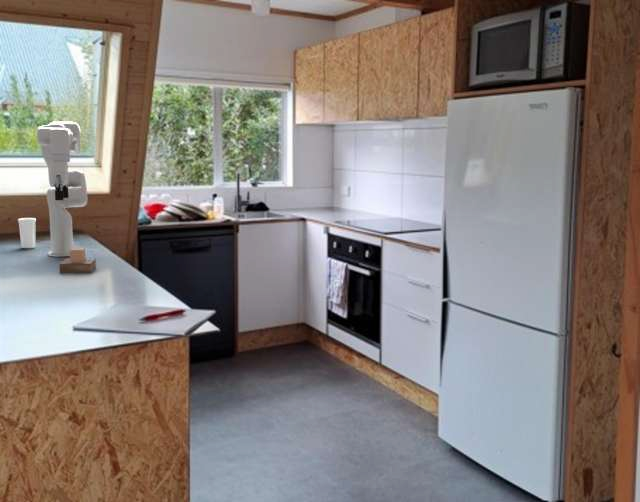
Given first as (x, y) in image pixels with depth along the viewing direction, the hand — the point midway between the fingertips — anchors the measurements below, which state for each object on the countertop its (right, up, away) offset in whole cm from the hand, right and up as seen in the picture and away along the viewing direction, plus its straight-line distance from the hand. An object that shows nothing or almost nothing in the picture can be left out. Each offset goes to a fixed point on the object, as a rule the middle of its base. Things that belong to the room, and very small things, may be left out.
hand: (62, 199), depth 280 cm
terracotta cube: (+9, -26, -7) cm, 29 cm away
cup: (-33, -21, +43) cm, 58 cm away
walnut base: (+9, -30, -6) cm, 32 cm away
